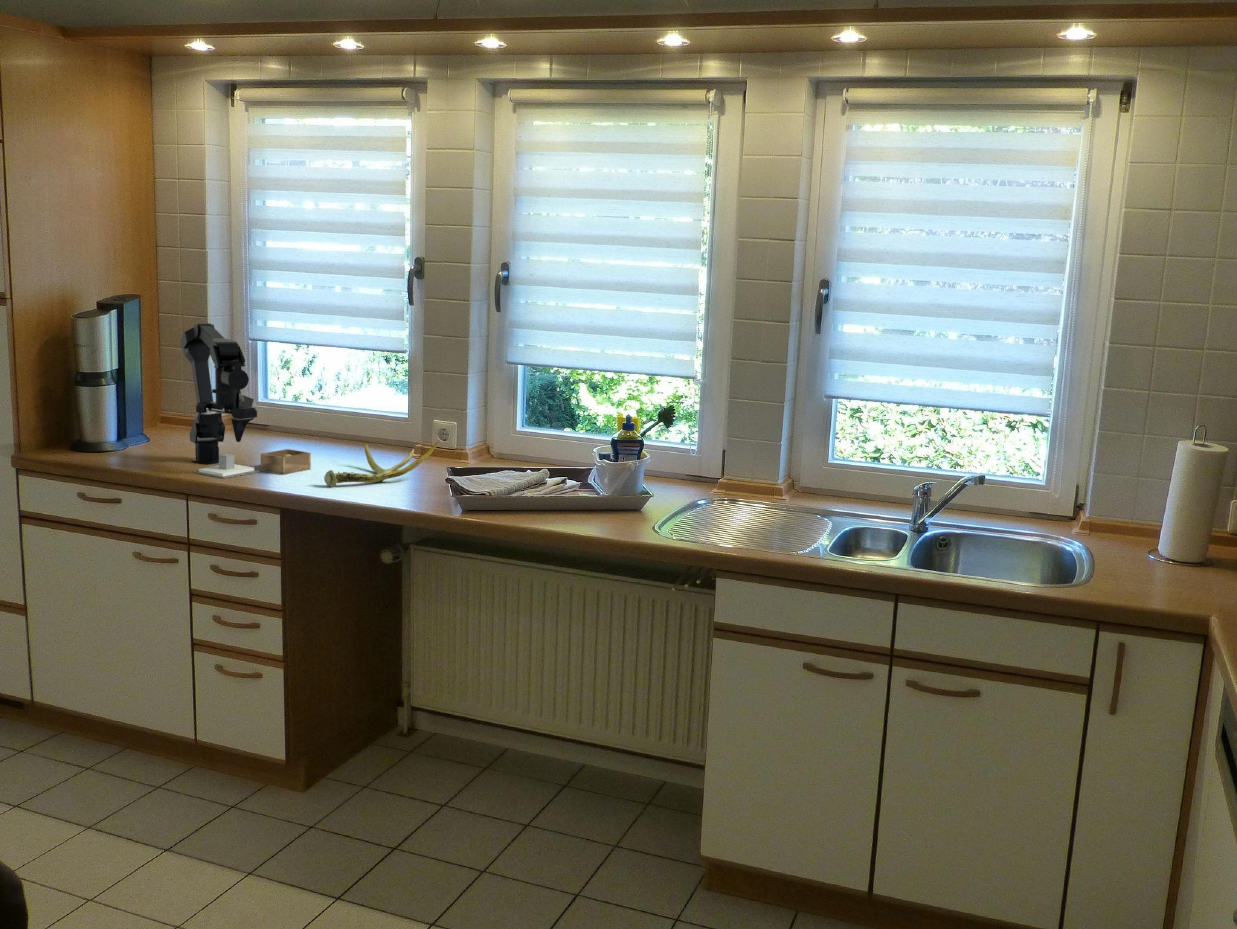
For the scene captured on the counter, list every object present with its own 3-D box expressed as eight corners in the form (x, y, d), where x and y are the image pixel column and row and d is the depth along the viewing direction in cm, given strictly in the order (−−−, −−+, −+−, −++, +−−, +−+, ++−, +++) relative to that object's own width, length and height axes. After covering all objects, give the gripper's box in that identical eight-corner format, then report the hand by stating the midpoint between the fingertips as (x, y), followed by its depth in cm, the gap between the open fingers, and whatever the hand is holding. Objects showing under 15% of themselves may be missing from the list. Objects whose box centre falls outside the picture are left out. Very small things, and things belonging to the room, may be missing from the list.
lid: (198, 471, 311) (198, 455, 310) (230, 466, 321) (230, 450, 321) (222, 476, 307) (222, 459, 306) (254, 470, 317) (254, 454, 316)
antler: (322, 496, 303) (317, 462, 301) (368, 467, 333) (364, 436, 331) (413, 495, 298) (409, 461, 296) (452, 466, 328) (448, 434, 326)
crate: (260, 470, 320) (260, 453, 319) (288, 465, 329) (288, 448, 328) (283, 474, 316) (283, 457, 315) (310, 469, 325) (310, 452, 324)
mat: (194, 472, 311) (194, 471, 311) (229, 466, 323) (229, 465, 323) (224, 478, 306) (224, 477, 306) (259, 472, 317) (259, 470, 317)
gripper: (271, 386, 312) (271, 440, 315) (224, 380, 321) (225, 433, 324) (241, 389, 303) (242, 445, 305) (194, 383, 311) (195, 437, 314)
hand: (226, 439), depth 312 cm, fingers open, 9 cm apart
